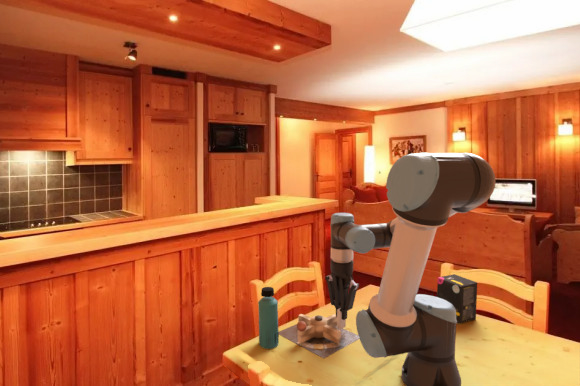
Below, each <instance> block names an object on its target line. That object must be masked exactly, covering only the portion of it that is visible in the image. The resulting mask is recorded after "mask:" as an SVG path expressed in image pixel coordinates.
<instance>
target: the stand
mask: <svg viewBox="0 0 580 386" xmlns="http://www.w3.org/2000/svg"><path fill="white" fill-rule="evenodd" d="M333 328H335V329H337V330H340V331H341V342H340V343H338V344H337V343H335V342H333V341H331V340H329V339H327V338H325V337H324V338H314V337H313V338H311V339H309V340H307V341H305V342H302V343H300V342H298V329H297V323H296V324H292V325H291V326H289V327H287V328H283V329H281V330H278V332H279V336H281V337H282V338H284V339H286V340H289V341H290V342H292V343H294V344H296V345H298V346H299V347H302V348H304V349H305V350H307V351H309V352H310V353H312V354H314V355H316V356H318V357H320V358H322V359H326V358H328V357H329V356H331V355H333V354H335V353H336V352H339V351H341V350H342V349H344V348H346V347H347V346H349V345H351V344H352V343H355V342H356V341H358V340H360V339H359V335H358V333H357V334H356V333H355V332H351V331H349V330H348V329H345V328H342V329H338V328H337V326H335V327H333Z"/></svg>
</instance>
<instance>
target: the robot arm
mask: <svg viewBox="0 0 580 386" xmlns="http://www.w3.org/2000/svg"><path fill="white" fill-rule="evenodd" d="M495 174H496V173H495V172H494V169H493V167H492V166H491V165H490V163H489V162H488V161H487V160H486V159H484V158H482V157H481V156H480V155H477V154H474V153H470V152H434V153H433V152H427V151H426V152H425V151H424V152H423V151H422V152H417V153H408V154H405V155H402V156H401V157H399V158H398V159H397V160H396V161H395V162H394V163H393V164H392V165H391V168H390V169H389V172H388V174H387V177H386V183H385V184H386V185H385V189H387V192H386V197H387V200H388V203H389V204H390V205H391V207H392V208H391V209H392V212H393V213H394V215H396V217H395V218H394V219H392V220H390V221H389V222H385V223H384V222H383V223H370V224H369V223H368V224H357V223H355V216H354V214H352V213H350V212H335V213H332V214H331V217H330V224H329V225H330V271H331V272H330V274H329V275H326V276H325V281H326V284H327V289H328V294H329V300H330V301H329V302H330V305H331V306H334V308H335V315H336V317H337V328H338V329H342V328H343V329H345V328H346V326H347V324H346V321H347V319H348V312H349V311H350V310H352V309H353V307H354V303H355V299H356V295H357V290H358V289H359V287H360V283H356V282H355V281H354V277H353V273H354V272H353V271H354V252H355V253H359V254H368V252H370V251H372V250H373V249H382V248H388V253H387V256H386V257H387V258H386V261H385V265H384V267H383V268H384V269H383V273H382V277H381V281H380V285H379V288H378V293H376V294H374V295H372V297H371V298H370V299H369V304H368V308H367V309H362V310H360V311H357V313H356V317H355V326H356V331H357V335H359V339H358V340H359V341H360V343H361V346H362V347H363V349H364V351H365V352H366V354H367V355H368V356H370V357H371V358H373V359H374V358H375V359H376V358H377V359H378V358H387V357H392V356H398V355H404V354H406V357H405V359H404V361H403V364H402V366H401V379H402V380H401V381H402V382H403V384H404V385H405V386H462V378H461V375H460V371H459V368H458V365H457V361H456V358H455V357H456V338H457V337H456V334H457V320H456V309H455V307H454V306H453V305H452V304H451V303H450V302H448V301H446V300H444V299H441V298H438V297H437V296H434V295H429V294H424V293H423V294H422V293H418V292H419V288H420V286H421V282H422V278H423V274H424V271H425V269H426V265H427V261H428V259H429V256H430V252H431V249H432V246H433V243H434V239H435V237H436V236H435V235H436V234H437V229H438V228H441V227H443V226H445V225H446V224H447V223H448V220H449V218H450V217H452V216H454V215H455V214H458V213H460V214H465V213H466V214H467V213H468V212H470V211H472V210H474V209H476V208H478V207H480V206H481V205H483V204H485V202H486V203H487V201H488V200H489V199H490V198H491V196H492V195H493V193H494V190H495V187H496V175H495Z"/></svg>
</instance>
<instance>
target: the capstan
mask: <svg viewBox="0 0 580 386" xmlns="http://www.w3.org/2000/svg"><path fill="white" fill-rule="evenodd" d="M297 319H298V322H297V323H296V324H297V329H298V342H300V343H302V342H305V341H307V340H309V339H311V338H313V337H314V338H324V337H325V338H327V339H329V340H331V341H333V342H335V343H337V344H338V343H340V342H341V331H340V330H337V329H335V328H333V327H335V326H337V317H336V313H334V314H331V315H329V316H323V315H314V316H311V317H310V316H308V315H306V314H303V313H300V314H298V317H297Z"/></svg>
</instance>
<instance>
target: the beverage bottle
mask: <svg viewBox="0 0 580 386" xmlns="http://www.w3.org/2000/svg"><path fill="white" fill-rule="evenodd" d="M260 295H261V298H260V299H259V300H258V302H257V305H258V307H257V308H258V328H257V329H258V344H259V347H261V348H263V349H267V350H271V349H274V348H275V349H276V348H277V347H278V345H279V342H280V340H279V337H280V335H279V310H278V307H279V306H278V305H279V304H278V300H277V299H276V298H275V297H274V296H275V290H274V287H272V286H265V287H262V288H261V292H260Z"/></svg>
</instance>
